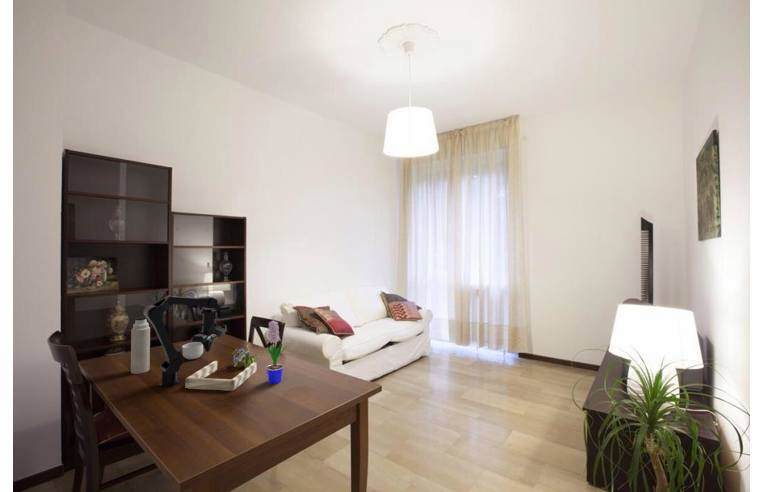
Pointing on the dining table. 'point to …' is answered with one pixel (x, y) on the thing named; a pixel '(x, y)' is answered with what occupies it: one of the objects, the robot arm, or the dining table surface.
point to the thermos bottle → (140, 346)
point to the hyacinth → (274, 355)
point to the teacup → (192, 350)
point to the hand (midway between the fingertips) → (207, 351)
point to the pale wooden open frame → (201, 382)
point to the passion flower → (243, 357)
